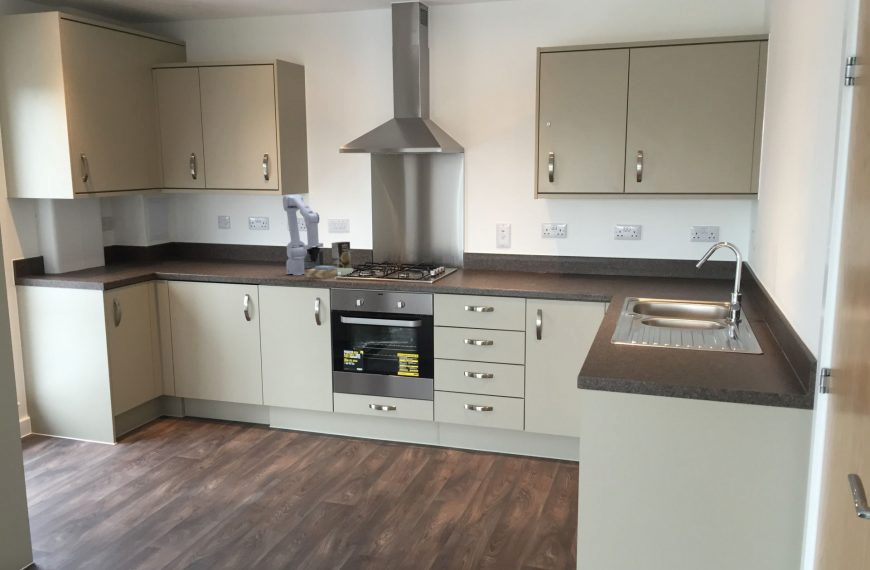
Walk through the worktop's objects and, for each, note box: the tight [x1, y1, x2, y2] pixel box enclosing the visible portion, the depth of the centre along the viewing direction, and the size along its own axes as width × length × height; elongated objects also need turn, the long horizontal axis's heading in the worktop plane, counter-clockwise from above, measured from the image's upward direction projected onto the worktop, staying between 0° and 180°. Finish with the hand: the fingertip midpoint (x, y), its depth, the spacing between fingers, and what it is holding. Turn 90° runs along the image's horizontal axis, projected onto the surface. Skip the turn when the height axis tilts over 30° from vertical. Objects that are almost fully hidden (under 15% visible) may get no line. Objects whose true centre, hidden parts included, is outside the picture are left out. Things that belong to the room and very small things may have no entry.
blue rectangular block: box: [314, 265, 335, 270], centre depth 391 cm, size 9×6×2 cm, turn 61°
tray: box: [337, 267, 355, 277], centre depth 401 cm, size 14×11×2 cm
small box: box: [304, 250, 325, 270], centre depth 426 cm, size 11×6×10 cm, turn 80°
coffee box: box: [331, 241, 352, 268], centre depth 414 cm, size 9×6×16 cm
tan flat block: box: [305, 268, 338, 279], centre depth 393 cm, size 13×11×4 cm
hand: (314, 261), depth 383 cm, fingers closed
